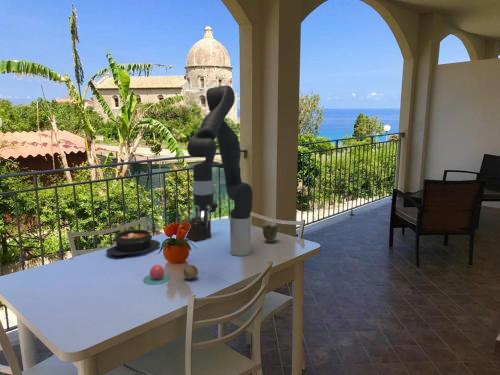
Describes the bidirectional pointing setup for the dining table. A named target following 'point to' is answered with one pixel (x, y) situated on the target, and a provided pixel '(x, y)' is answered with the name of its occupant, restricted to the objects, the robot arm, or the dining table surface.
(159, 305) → the dining table surface
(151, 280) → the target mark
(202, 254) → the dining table surface
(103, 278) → the dining table surface
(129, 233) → the casserole
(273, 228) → the cup
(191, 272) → the brown ball
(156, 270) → the object ball
